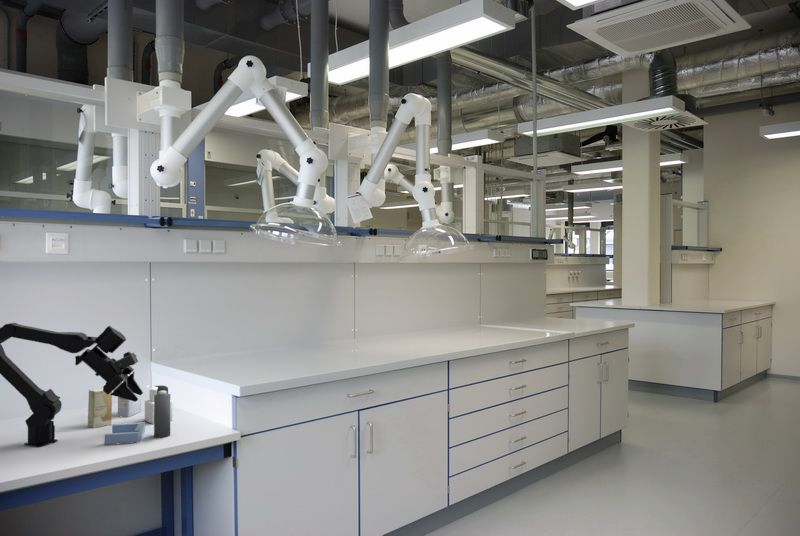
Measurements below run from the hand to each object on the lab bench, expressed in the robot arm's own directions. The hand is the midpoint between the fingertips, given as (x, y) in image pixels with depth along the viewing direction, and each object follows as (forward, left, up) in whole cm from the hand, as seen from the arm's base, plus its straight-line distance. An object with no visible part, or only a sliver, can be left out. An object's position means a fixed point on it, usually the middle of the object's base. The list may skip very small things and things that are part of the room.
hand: (139, 397), depth 187 cm
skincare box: (+6, +23, -13) cm, 27 cm away
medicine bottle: (+18, +9, -13) cm, 24 cm away
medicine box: (+21, +25, -13) cm, 35 cm away
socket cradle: (-3, +4, -13) cm, 14 cm away
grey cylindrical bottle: (+4, -6, -13) cm, 14 cm away
